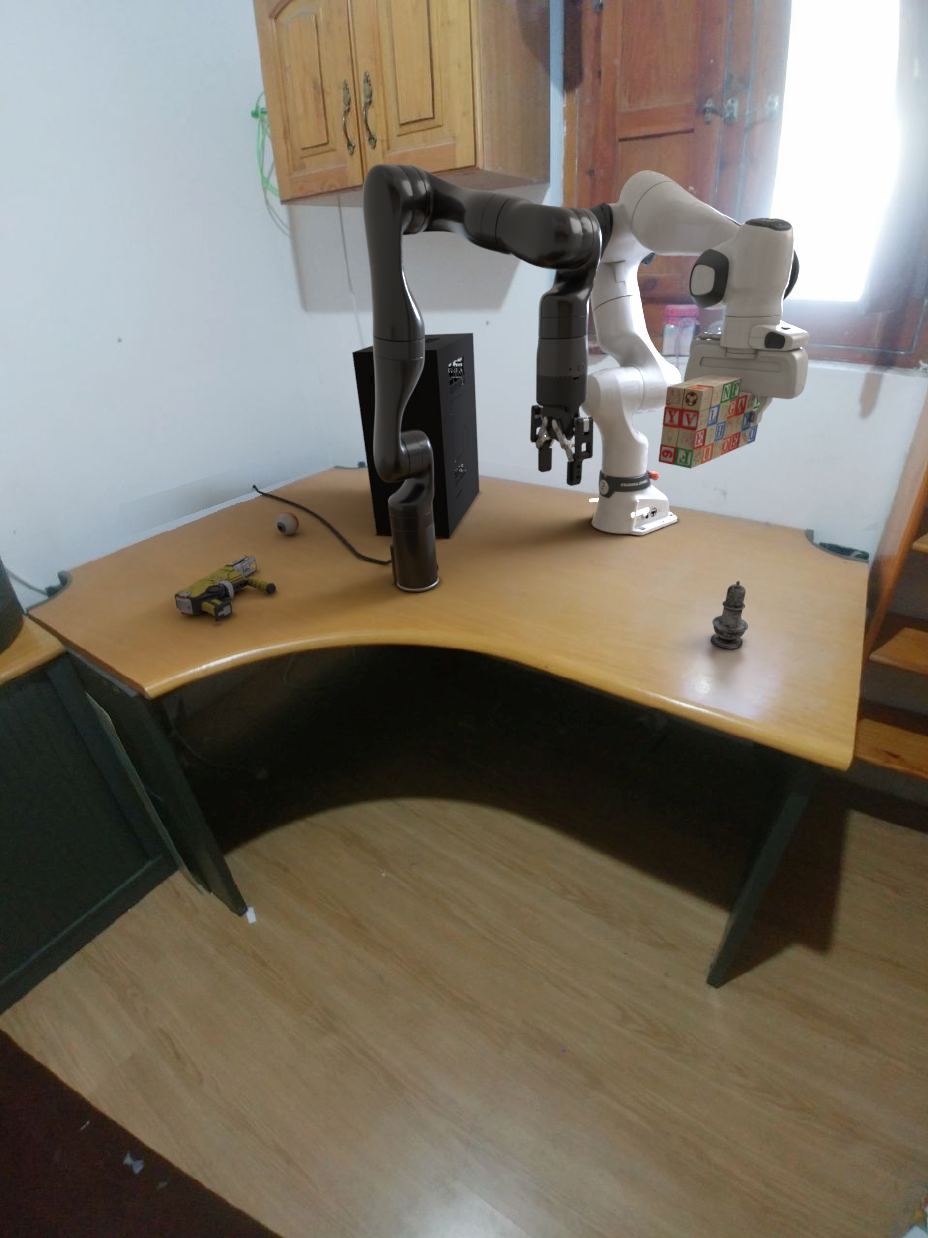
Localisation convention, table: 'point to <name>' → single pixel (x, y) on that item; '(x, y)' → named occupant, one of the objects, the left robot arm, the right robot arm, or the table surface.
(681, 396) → the stack of blocks
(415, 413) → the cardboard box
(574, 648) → the table surface
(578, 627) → the table surface
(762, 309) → the right robot arm
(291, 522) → the eyeball
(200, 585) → the toy gun
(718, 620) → the grey chess piece
